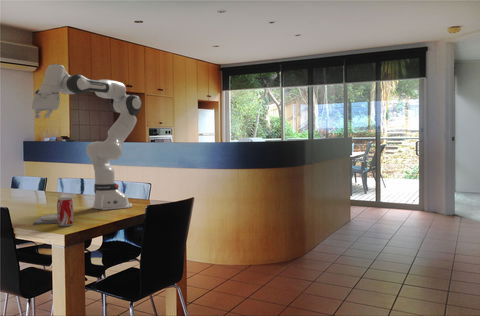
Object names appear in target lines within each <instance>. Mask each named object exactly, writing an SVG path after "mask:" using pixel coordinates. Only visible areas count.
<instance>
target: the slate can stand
mask: <svg viewBox="0 0 480 316" xmlns="http://www.w3.org/2000/svg"><path fill="white" fill-rule="evenodd" d="M47 224H48V225H51V224H58V223H57V213H53V214H52V213H51V214H44V215H42V216H39V217H38V218H37V219H36V220H34V221H33V225H47Z"/></svg>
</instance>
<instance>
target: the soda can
mask: <svg viewBox="0 0 480 316" xmlns="http://www.w3.org/2000/svg"><path fill="white" fill-rule="evenodd" d="M56 211H57V213H56V214H57V223H56V224H57V226H58V227H61V228H64V227H70V226H73V224H74V201H73V198H72V197H61V198H60V197H59V198H58V199H57V202H56Z"/></svg>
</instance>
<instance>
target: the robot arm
mask: <svg viewBox="0 0 480 316" xmlns="http://www.w3.org/2000/svg"><path fill="white" fill-rule="evenodd" d="M86 92H91V93H92V92H94V93H95V95H96V96H97V97H99V98H102V99H110V100H109V105H110V109H111V111H113V112H114V113H115V114H120V115H119V116H118V118H117V120H116V121H115V122H114V123H113V124H112V125H111V127H110V128H109V129H108V130H107V138H106V139H105V140H104V141H99V140H98V141H93V142H91V143H89V144H88V145H87V147H86V151H85V152H86V155H87V157H89V159H90V160H91V162H92V167H93V170H94V185H93V191H94V200H93V206H92V208H93V209H97V210H101V211H103V210H104V211H106V210H107V211H108V210H116V209H117V210H119V209H129V208H132V207H133V203H131V202H129V198H128V195H127V194H126V193H124V192H123V191H121V190H120V189H119V184H118V183H116V182H115V169H114V168H113V166H111V163H110V162H111V161H115V160H118V159H120V158H121V157H122V156H123V144H124V142H125V141H126V139H127V138H128V137H129V135H130V134H131V133H132V131H133V130H134V128H135V126H136V124H137V121H138V119H137V117H136V116H137V115H138V114H139V113H140V111H141V109H142V105H143V103H142V102H143V101H142V99H141V97H139V95H137V94H127V93H126V92H127V87H126V85H125V84H124V83H123V82H121V81H117V80H114V79H113V80H112V79H98V80H95V79H91V78H90V79H89V78H88V77H85V76H84V75H81V74H78V73H77V74H73V75H70V74H69V73H68V72H67V69H66V68H65V66H64V65H62V64H59V63H51V64H49V65H48V66H47V69H46V70H45V73H44V76H43V82H42V84H41V86H40V87H39V89H37V90H35V91H34V95H35V96H34V97H33V100H32V104H31V109H32V110H34V114H35V116H34V118H35V119H40V117H41V115H40V113H41V112H43V111H46V113H45V114H44V116H43V117H44V119H45V118H46V119H49V118H50V116H51V115H52V113H53V111H57V110H58V109H59V107H60V102H61V96H60V95H61V94H63V95H75V94H77V95H78V94H79V95H81V94H84V93H86ZM60 93H61V94H60Z"/></svg>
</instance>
